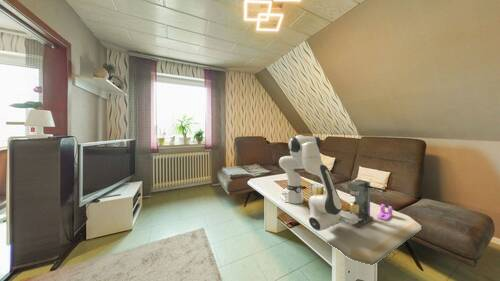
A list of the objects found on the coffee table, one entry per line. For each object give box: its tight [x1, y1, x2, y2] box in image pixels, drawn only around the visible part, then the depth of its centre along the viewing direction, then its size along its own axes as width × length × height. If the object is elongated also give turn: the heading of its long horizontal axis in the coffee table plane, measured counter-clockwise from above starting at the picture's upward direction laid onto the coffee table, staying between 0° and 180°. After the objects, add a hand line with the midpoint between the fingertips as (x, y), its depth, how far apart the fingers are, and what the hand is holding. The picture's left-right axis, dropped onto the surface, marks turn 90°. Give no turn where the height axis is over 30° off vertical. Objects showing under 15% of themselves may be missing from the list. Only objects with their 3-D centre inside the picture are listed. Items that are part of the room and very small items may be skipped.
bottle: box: [349, 200, 359, 219], centre depth 112 cm, size 5×5×10 cm
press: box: [347, 178, 387, 229], centre depth 109 cm, size 18×20×25 cm
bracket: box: [376, 203, 393, 222], centre depth 116 cm, size 13×6×7 cm, turn 126°
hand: (345, 210), depth 106 cm, fingers open, 8 cm apart
